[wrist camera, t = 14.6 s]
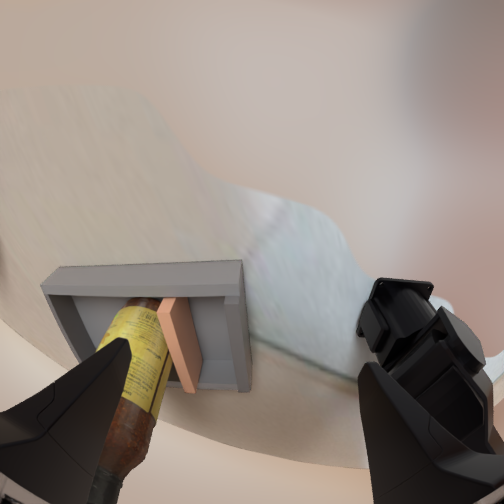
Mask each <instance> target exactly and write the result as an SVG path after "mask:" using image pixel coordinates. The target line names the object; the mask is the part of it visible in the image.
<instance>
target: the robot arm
mask: <svg viewBox="0 0 504 504" xmlns="http://www.w3.org/2000/svg"><path fill="white" fill-rule="evenodd" d="M382 282H383V283H382ZM380 283H382V284H381V285H379V284H380ZM429 286H430V287H429ZM428 287H429V288H428ZM433 288H434V286H433V284H432V283H431V282H425V281H414V280H403V279H392V278H378V279H377V280H376V282H375V284H374V287H373V290H372V293H371V295H370V298H369V300H368V301H367V303H366V305H365V308H364V311H363V313H362V316H361V318H360V321H359V323H360V324H359V326H358V329H357V335H358V336H359V337H365V338H366V341H367V343H368V346H369V348H370V351H371V352H372V353H376V356H377V358H378V361H379V363H380V365H379V364H378V363H376V362H366V363H365V364H364V366H363V368H362V370H361V372H360V373H359V376H358V390H359V403H360V414H361V420H362V425H363V431H364V437H365V443H366V449H367V455H368V462H369V469H370V476H371V484H372V492H373V500H374V504H504V442H503V440H502V438H501V437H500V435H499V433H498V432H497V430H496V429H495V427H494V425H493V384H492V381H491V380H490V378H489V377H488V375H487V374H486V373H485V371H484V370H483V367H484V366H485V365H486V361H485V357H484V354H483V350H482V346H481V343H480V340H479V339H478V338H477V336H476V335H475V334H474V333H473V332H472V330H471V329H470V328H469V327H468V325H467V324H465V323H464V322H463V321H462V320H460V319H459V318H457V317H456V316H455V315H454V314H452V313H451V312H450V311H448V310H447V309H445V308H444V307H443V306H441V307H440V308H439V309H438V310H437V311H436V310H435V308H434V307H433V306H432V304H431V303H430V302H429V298H430V295H431V293H432V291H433ZM361 332H362V333H361ZM131 359H132V352H131V348H130V344H129V340H128V339H126V338H122V337H117V338H115V339H114V340H113V341H111V342H110V343H108V344H107V345H105V346H104V347H103V348H101V349H100V350H98V351H97V352H95V353H94V354H93V355H91V356H90V357H88V358H87V359H85V360H84V361H83V362H81V363H80V364H78V365H77V366H76V367H74V368H73V369H71V370H70V371H68V372H67V373H66V374H65V375H63V376H61V377H60V378H59V379H57V380H56V381H55V382H53V383H51V384H50V385H49V386H47V387H46V388H44V389H43V390H42V391H40V392H38V393H37V394H35V395H33V396H32V397H30V398H28V399H26V400H25V401H23V402H21V403H19V404H17V405H15V406H14V407H12V408H10V409H8V410H6V411H3V412H0V504H86V503H87V499H88V496H89V492H90V488H91V485H92V482H93V477H94V475H95V471H96V468H97V465H98V462H99V459H100V455H101V452H102V449H103V446H104V443H105V440H106V437H107V435H108V432H109V429H110V426H111V423H112V420H113V418H114V415H115V412H116V409H117V407H118V404H119V401H120V399H121V396H122V393H123V390H124V386H125V382H126V378H127V374H128V371H129V367H130V363H131Z"/></svg>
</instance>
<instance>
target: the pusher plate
mask: <svg viewBox="0 0 504 504" xmlns="http://www.w3.org/2000/svg"><path fill="white" fill-rule="evenodd" d="M157 316H158V319H159V322H160V325H161V328H162V331H163V334H164V337H165V340H166V343H167V346H168V349H169V352H170V354H171V357H172V360H173V363H174V365H175V368H176V371H177V373H178V376H179V379H180V381H181V384H182V386H183V389H184V391H185V393H196V389H197V385H198V380H199V375H200V371H201V366H202V362H203V359H202V355H201V351H200V347H199V344H198V340H197V336H196V332H195V328H194V324H193V319H192V315H191V311H190V307H189V302H188V298H187V297H164V298H163V300H162V302H161V304H160V306H159V308H158V310H157Z"/></svg>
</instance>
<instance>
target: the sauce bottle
mask: <svg viewBox="0 0 504 504" xmlns="http://www.w3.org/2000/svg"><path fill="white" fill-rule="evenodd" d="M160 304H161V302H160V301H158V300H155V299H153V298H151V297H135V298H132V299H130V300H128V301H127V302H126V304H125V305H124V306H123V307H122V308H121V310H120V311H118V313H117V314H116V315H115V317H114V319H113V321H112V323H111V324H110V326H109V328H108V329H107V331H106V333H105V335H104V337H103V338H102V340H101V342H100V344H99V346H98V348H97V349H96V351H95V352H97V351H98V350H100V349H101V348H103V347H104V346H105V345H107V344H108V343H110V342H111V341H113V340H114V339H115V338H117V337H122V338H126V339H128V340H129V344H130V348H131V352H132V359H131V363H130V367H129V371H128V374H127V378H126V382H125V386H124V390H123V393H122V396H121V399H120V401H119V404H118V407H117V409H116V412H115V415H114V418H113V420H112V423H111V426H110V429H109V432H108V435H107V437H106V440H105V443H104V446H103V449H102V452H101V455H100V459H99V462H98V465H97V468H96V471H95V475H94V477H93V482H92V485H91V488H90V492H89V496H88V499H87V503H86V504H117V500H118V496H119V492H120V489H121V488H122V485H123V484H122V483H123V480H124V478H125V477H126V476H127V475H128V473H129V472H130V471H131V470H132V469H133V468H135V467H136V466H138V465H139V464H140V463H141V462H143V460H144V459H145V456H146V454H147V452H148V448H149V443H150V440H151V436H152V431H153V428H154V427H155V425H156V421H157V418H158V414H159V410H160V406H161V402H162V399H163V395H164V391H165V388H166V384H167V380H168V377H169V373H170V370H171V366H172V362H173V360H172V357H171V354H170V352H169V349H168V346H167V343H166V340H165V337H164V334H163V331H162V328H161V325H160V322H159V319H158V316H157V310H158V308H159V306H160Z"/></svg>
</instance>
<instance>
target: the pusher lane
mask: <svg viewBox="0 0 504 504" xmlns="http://www.w3.org/2000/svg"><path fill="white" fill-rule="evenodd" d="M40 286H41V288H42V291H43V293H44V295H45V298H46V300H47V302H48V304H49V307H50V309H51V311H52V313H53V315H54V317H55V319H56V321H57V323H58V325H59V327H60V329H61V331H62V333H63V335H64V337H65V339H66V341H67V343H68V345H69V346H70V348H71V350H72V352H73V353H74V355H75V357H76V359H77V360H78V362H79V364H80V363H81V362H83V361H84V360H85V359H87V358H88V357H90V356H91V355H93V354H94V353H95V351H96V349H97V348H98V346H99V344H100V342H101V340H102V338H103V337H104V335H105V333H106V331H107V329H108V328H109V326H110V324H111V323H112V321H113V319H114V317H115V315H116V314H117V313H118V311H120V310H121V308H122V307H123V306H124V305H125V304H126V302H127V301H128V300H130V299H132V298H135V297H151V298H153V299H155V300H158V301H160V302H162V300H163V298H164V297H187V298H188V302H189V307H190V311H191V315H192V319H193V324H194V328H195V332H196V336H197V340H198V344H199V347H200V351H201V355H202V359H203V362H202V366H201V371H200V375H199V380H198V385H197V389H210V390H238V392H250V390H251V375H252V359H251V349H250V339H249V330H248V320H247V310H246V300H245V290H244V279H243V269H242V260H225V261H202V262H179V263H154V264H128V265H100V266H71V267H59V268H57V269H56V270H55V271H54V272H53V273H52V274H51V275H50V276H49V277H48V278H47V279H46V280H45V281H44V282H43V283H42V284H41V285H40ZM166 387H176V388H183V386H182V384H181V381H180V379H179V376H178V373H177V371H176V368H175V365H174V363H173V362H172V366H171V370H170V373H169V377H168V380H167V384H166Z"/></svg>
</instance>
